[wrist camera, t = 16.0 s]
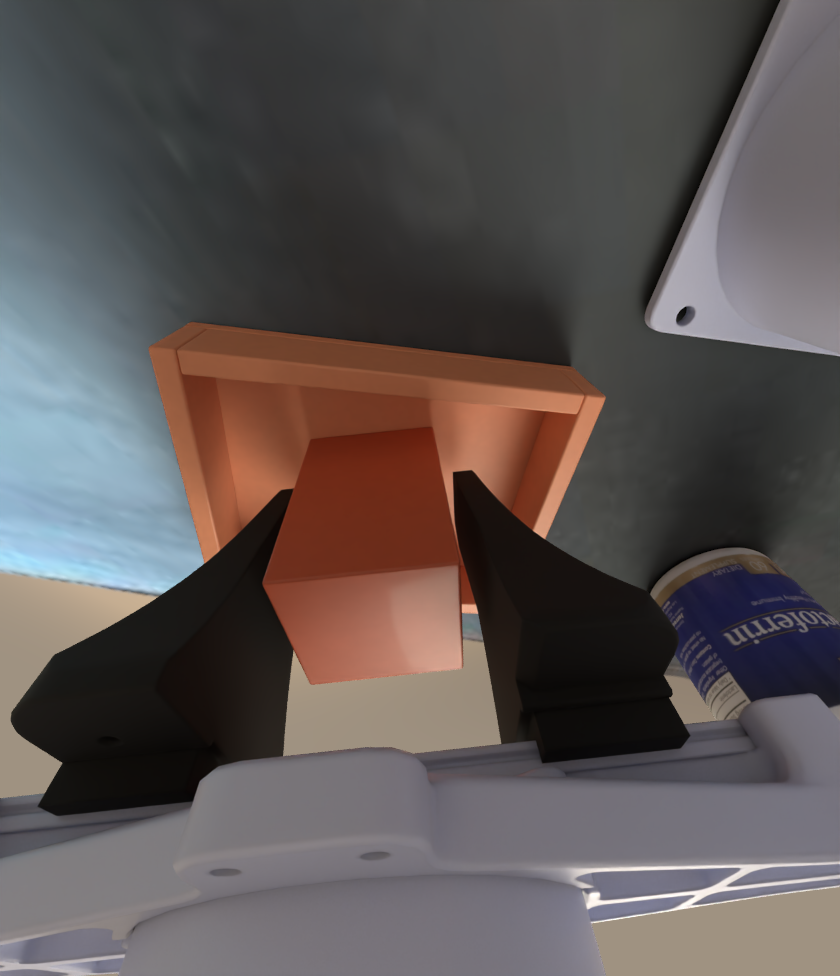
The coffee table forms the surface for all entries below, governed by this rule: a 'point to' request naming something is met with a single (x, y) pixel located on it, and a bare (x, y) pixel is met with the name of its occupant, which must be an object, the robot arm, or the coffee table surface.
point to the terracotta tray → (361, 419)
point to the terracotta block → (369, 560)
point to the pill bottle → (749, 631)
